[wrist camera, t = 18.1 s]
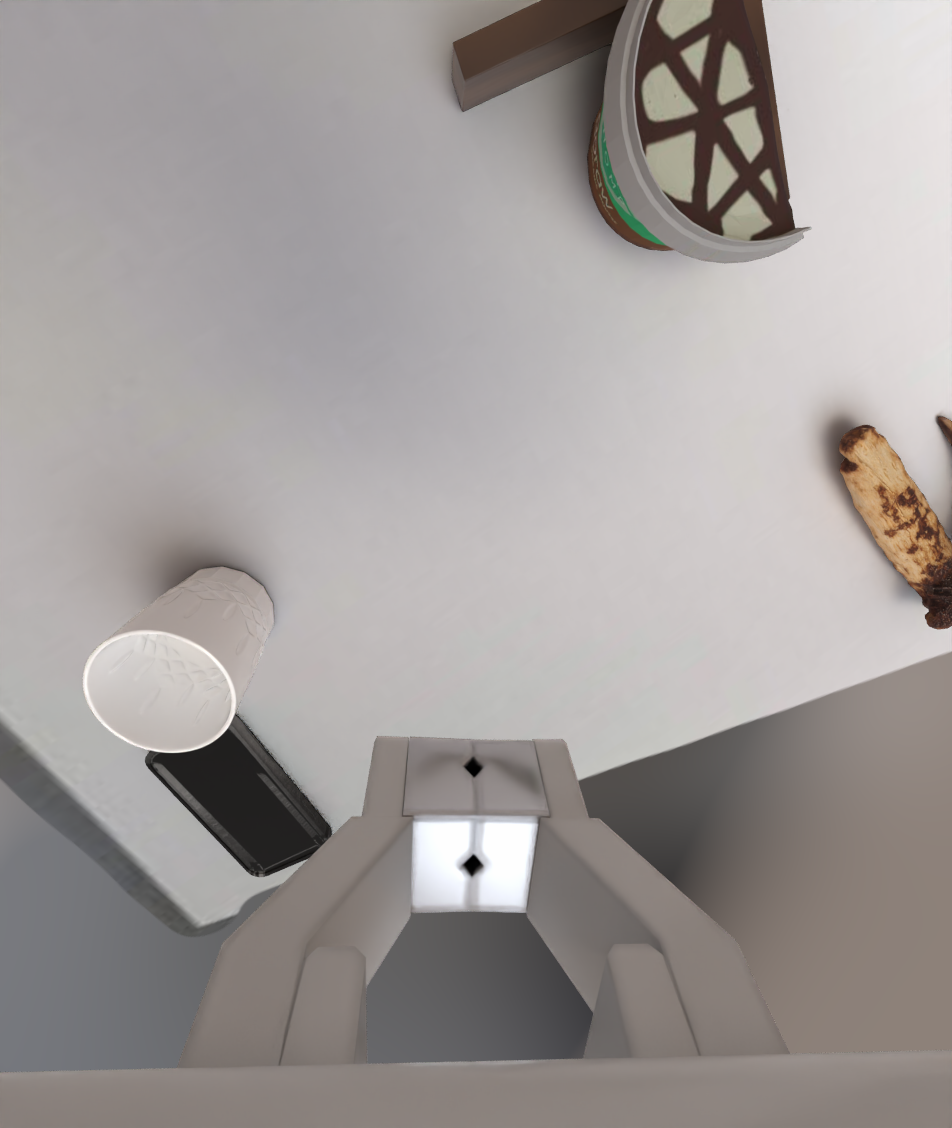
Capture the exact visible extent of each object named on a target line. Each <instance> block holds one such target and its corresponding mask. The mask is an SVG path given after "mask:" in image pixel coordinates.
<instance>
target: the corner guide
mask: <svg viewBox="0 0 952 1128" xmlns="http://www.w3.org/2000/svg"><path fill="white" fill-rule="evenodd" d="M743 1H744V5H745V9H746V13H747V16H748V20H749V23H750V27H751V30H752V33H753V37H754V40H755V43H756V46H757V49H758V52H759V55H760V59H761V62H762V66H763V69H764V73H765V76H766V80H767V84H768V89H769V96H770V102H771V108H772V115H773V122H774V130H775V137H776V144H777V150H778V156H779V161H780V166H781V171H782V176H783V180H784V185H785V190H786V193H787V197H788V200H789V199H790V195H789V188H788V181H787V174H786V167H785V160H784V153H783V146H782V139H781V132H780V125H779V118H778V111H777V104H776V97H775V90H774V83H773V76H772V69H771V62H770V55H769V48H768V41H767V34H766V27H765V20H764V14H763V7H762V0H743ZM627 2H628V0H541V1H539V2H537V3H535V4H533V5H531V6H529V7H526V8H524V9H522V10H520V11H518V12H516V13H514V14H512V15H510V16H508V17H505V18H503V19H501V20H499V21H497V22H495V23H493V24H491V25H489V26H487V27H485V28H482V29H480V30H478V31H476V32H474V33H472V34H470V35H468V36H466V37H464V38H461V39H459V40H457V41H455V42H453V55H452V82H453V85H454V88H455V91H456V94H457V97H458V100H459V103H460V106H461V109H462V111H463V112H464V111H466V110H468V109H470V108H472V107H474V106H477V105H479V104H481V103H483V102H485V101H487V100H490V99H492V98H494V97H496V96H498V95H500V94H502V93H505V92H507V91H509V90H511V89H513V88H515V87H518V86H520V85H522V84H524V83H526V82H528V81H531V80H533V79H535V78H537V77H539V76H541V75H543V74H546V73H548V72H550V71H552V70H554V69H556V68H559V67H561V66H563V65H565V64H567V63H569V62H572V61H574V60H576V59H578V58H580V57H582V56H584V55H587V54H589V53H591V52H593V51H595V50H597V49H600V48H602V47H604V46H606V45H608V44H610V43H613V40H614V36H615V33H616V29H617V27H618V24H619V22H620V19H621V17H622V14H623V12H624V10H625V7H626V5H627Z"/></svg>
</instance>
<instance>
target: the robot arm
mask: <svg viewBox="0 0 952 1128" xmlns="http://www.w3.org/2000/svg"><path fill="white" fill-rule="evenodd" d="M454 911H456V912H457V911H484V912H523V913H527V917H528V918H529V920H530V921H531V923H532V924H533V926H534V927H535V929H536V930H537V931H538V933H539V934H540V936H541V937H542V939H543V940H544V942H545V943H546V945H547V946H548V948H549V949H550V950H551V952H552V953H553V955H554V956H555V958H556V959H557V961H558V962H559V963H560V965H561V966H562V968H563V969H564V971H565V972H566V974H567V975H568V977H569V978H570V980H571V981H572V982H573V984H574V985H575V987H576V988H577V990H578V991H579V993H580V994H581V996H582V997H583V998H584V1000H585V1001H586V1003H587V1004H588V1006H589V1007H590V1009H591V1010H592V1012H593V1013H594V1015H593V1018H592V1022H591V1027H590V1031H589V1035H588V1040H587V1044H586V1048H585V1053H584V1057H583V1059H554V1060H515V1061H514V1060H510V1061H468V1062H425V1063H382V1064H367V1021H366V1020H367V1019H366V1018H367V1016H366V987H367V985H368V983H369V982H370V981H371V979H372V977H373V976H374V974H375V972H376V971H377V969H378V968H379V966H380V965H381V963H382V961H383V960H384V958H385V957H386V955H387V953H388V952H389V950H390V949H391V947H392V945H393V944H394V942H395V941H396V939H397V937H398V936H399V934H400V933H401V931H402V929H403V928H404V926H405V925H406V923H407V922H408V920H409V918H410V913H425V912H427V913H428V912H454ZM0 1128H952V1050H933V1051H891V1052H890V1051H889V1052H888V1051H887V1052H844V1053H802V1054H790V1053H789V1051H788V1048H787V1046H786V1044H785V1042H784V1040H783V1038H782V1036H781V1034H780V1032H779V1029H778V1027H777V1026H776V1023H775V1021H774V1019H773V1017H772V1015H771V1013H770V1011H769V1009H768V1006H767V1004H766V1002H765V1000H764V998H763V996H762V994H761V992H760V990H759V987H758V985H757V983H756V982H755V979H754V977H753V975H752V973H751V971H750V968H749V966H748V964H747V962H746V960H745V958H744V956H743V954H742V952H741V950H740V947H739V945H738V944H737V941H736V940H735V939H734V938H733V937H732V936H730V935H729V934H728V933H727V932H726V931H725V930H724V929H722V928H721V927H720V926H719V925H718V924H717V923H716V922H714V920H712V919H711V918H710V917H709V916H708V915H707V914H706V913H705V912H703V911H702V910H701V909H700V908H699V907H698V906H697V905H695V904H694V903H693V902H692V901H691V900H690V899H689V898H688V897H687V896H685V895H684V894H683V893H682V892H681V891H680V890H679V889H678V888H676V887H675V886H674V885H673V884H672V883H671V882H670V881H668V880H667V879H666V878H665V877H664V876H663V875H662V874H661V873H660V872H658V871H657V870H656V869H655V868H654V867H653V866H652V865H651V864H649V863H648V862H647V861H646V860H645V859H644V858H643V857H641V856H640V855H639V854H638V853H637V852H636V851H635V850H634V849H633V848H631V847H630V846H629V845H628V844H627V843H626V842H625V841H623V840H622V839H621V838H620V837H619V836H618V835H617V834H615V833H614V832H613V831H612V830H611V829H610V828H609V827H608V826H607V825H606V824H604V823H603V822H602V821H601V820H600V819H599V818H589V817H588V813H587V810H586V807H585V804H584V800H583V797H582V794H581V790H580V787H579V783H578V780H577V777H576V773H575V770H574V767H573V763H572V760H571V757H570V753H569V750H568V747H567V743H566V742H565V741H564V740H563V739H532V740H480V739H454V738H429V737H410V738H408V737H391V736H377V738H376V740H375V742H374V747H373V753H372V759H371V765H370V771H369V777H368V782H367V788H366V794H365V800H364V806H363V812H362V816H356V817H351V818H350V819H349V820H348V821H347V822H346V823H345V824H343V825H342V826H341V827H340V828H339V829H338V830H337V831H336V832H335V833H334V834H333V835H332V836H331V837H330V838H329V839H328V840H327V841H326V842H325V843H324V844H323V845H322V846H321V847H320V848H319V849H318V850H317V851H316V852H315V853H314V854H313V855H312V856H311V857H310V858H309V859H308V860H307V861H306V862H305V863H304V864H303V865H302V866H301V867H300V868H299V869H298V870H297V871H296V872H295V873H294V874H293V875H292V876H291V877H289V878H288V879H287V880H286V881H285V882H284V883H283V884H282V885H281V886H280V887H279V888H278V889H277V890H276V891H275V892H274V893H273V894H272V895H271V896H270V897H269V898H268V899H267V900H266V901H265V902H264V903H263V904H262V905H261V906H260V907H259V908H258V909H257V910H256V911H255V912H254V913H253V914H252V915H251V916H250V917H249V918H248V919H247V920H246V921H245V922H244V923H243V924H242V925H241V926H240V927H239V928H238V929H236V931H234V933H232V934H231V935H230V936H229V937H228V938H227V939H226V940H225V941H224V942H223V943H222V946H221V948H220V951H219V954H218V957H217V960H216V962H215V965H214V968H213V970H212V973H211V976H210V978H209V981H208V984H207V987H206V989H205V992H204V995H203V997H202V1000H201V1003H200V1006H199V1008H198V1011H197V1014H196V1016H195V1019H194V1022H193V1025H192V1028H191V1030H190V1033H189V1036H188V1039H187V1041H186V1044H185V1046H184V1049H183V1052H182V1055H181V1057H180V1060H179V1063H178V1066H177V1068H167V1069H124V1070H81V1071H39V1072H0Z"/></svg>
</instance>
